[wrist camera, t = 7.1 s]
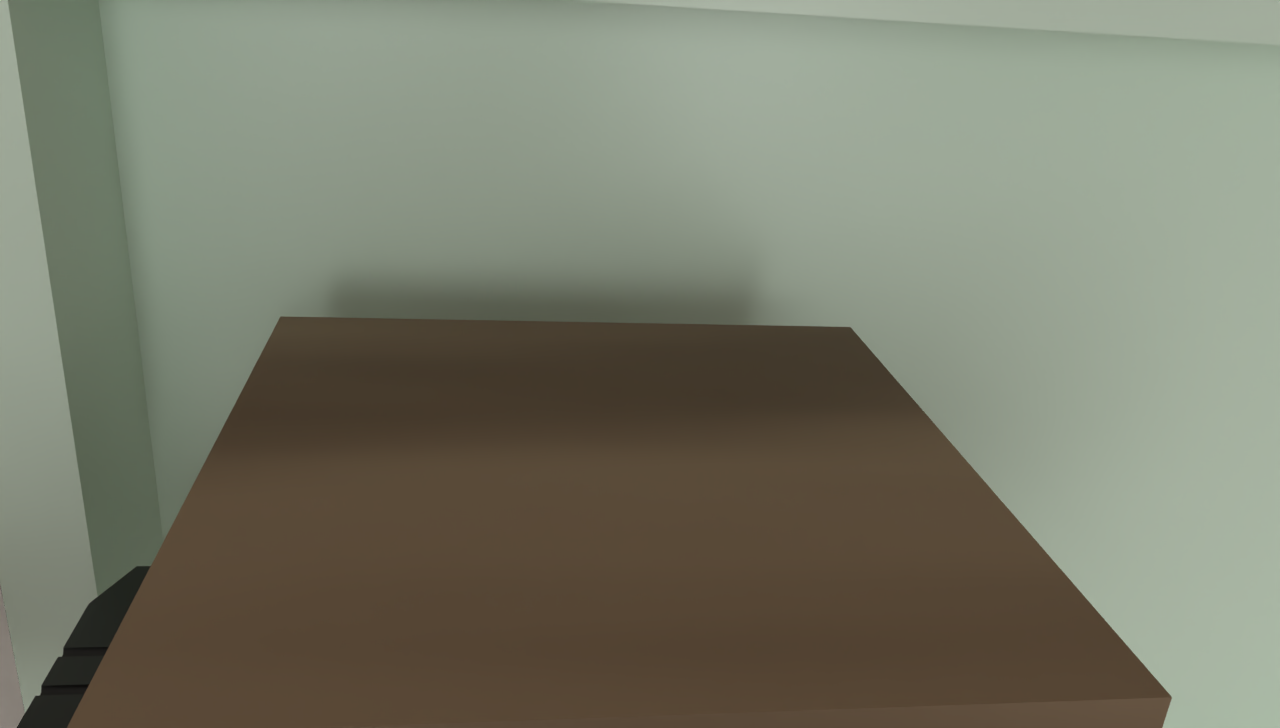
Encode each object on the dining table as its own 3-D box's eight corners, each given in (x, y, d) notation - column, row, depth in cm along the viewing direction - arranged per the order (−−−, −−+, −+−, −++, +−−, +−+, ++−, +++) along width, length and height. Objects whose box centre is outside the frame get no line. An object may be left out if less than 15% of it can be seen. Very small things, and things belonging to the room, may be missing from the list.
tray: (8, -151, 9) (-145, -171, 7) (1710, -17, 12) (1995, -2, 10) (152, 853, 14) (86, 1036, 12) (1364, 793, 17) (1502, 931, 14)
